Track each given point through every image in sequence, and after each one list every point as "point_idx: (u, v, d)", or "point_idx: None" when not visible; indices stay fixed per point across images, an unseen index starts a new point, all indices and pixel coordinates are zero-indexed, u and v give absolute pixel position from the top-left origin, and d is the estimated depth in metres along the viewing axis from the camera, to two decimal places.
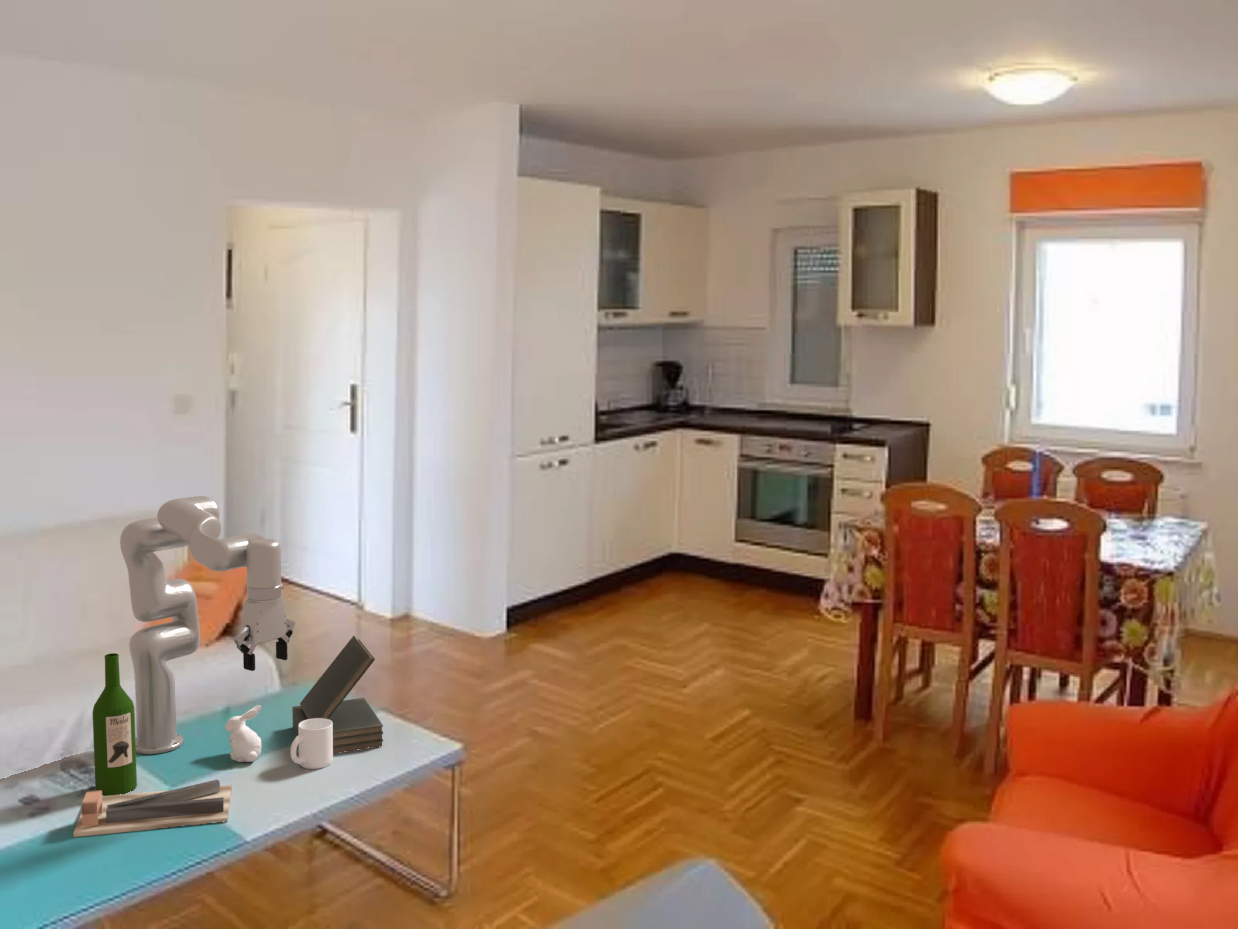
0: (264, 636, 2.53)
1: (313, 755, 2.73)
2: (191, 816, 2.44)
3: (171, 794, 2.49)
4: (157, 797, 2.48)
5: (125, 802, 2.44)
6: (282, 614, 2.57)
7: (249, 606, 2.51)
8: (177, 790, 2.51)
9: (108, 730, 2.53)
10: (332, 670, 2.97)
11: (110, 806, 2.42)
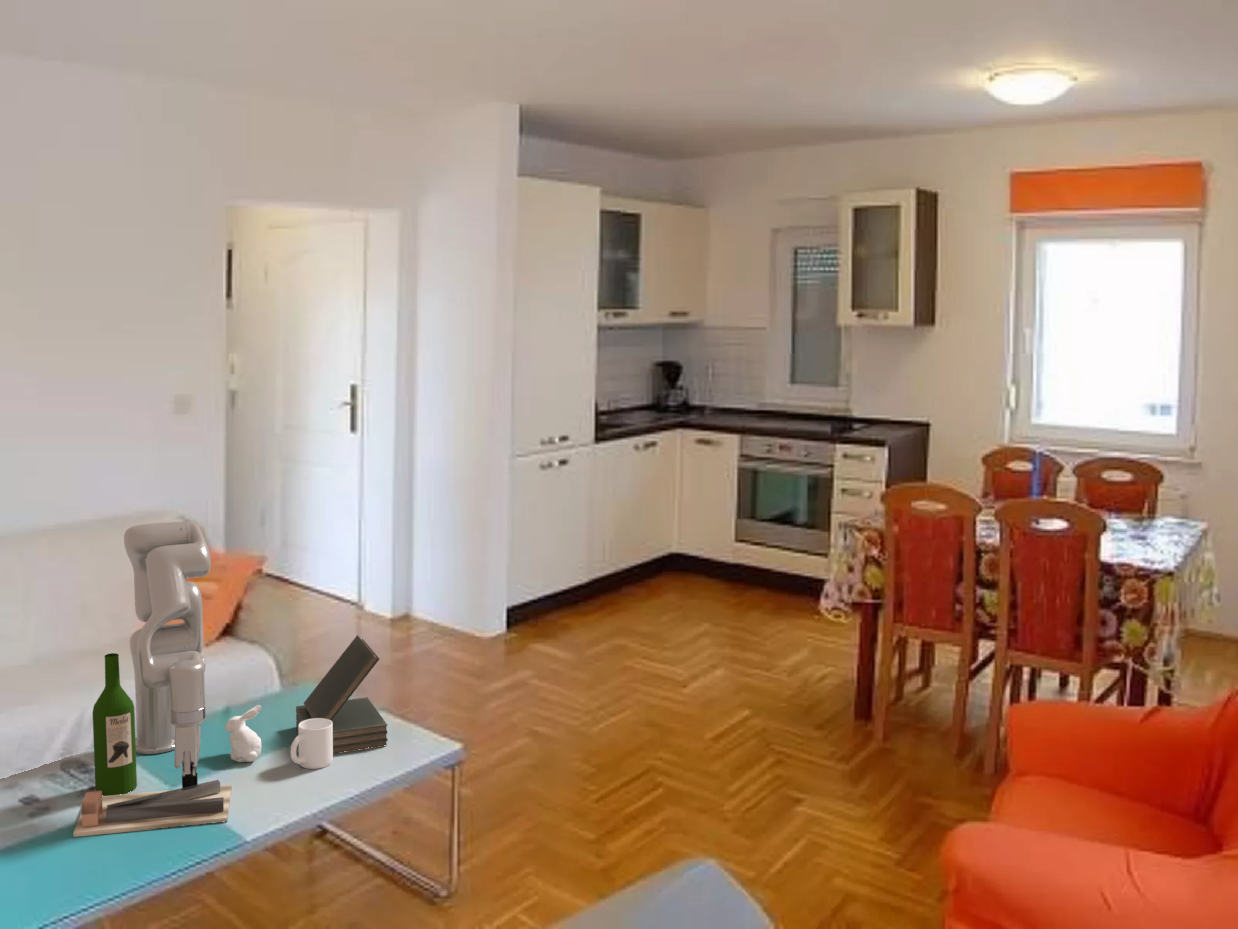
0: (198, 757, 2.53)
1: (313, 755, 2.73)
2: (191, 816, 2.44)
3: (171, 794, 2.49)
4: (157, 798, 2.47)
5: (125, 802, 2.44)
6: None
7: (187, 731, 2.49)
8: (177, 790, 2.51)
9: (108, 730, 2.53)
10: (335, 670, 2.98)
11: (110, 806, 2.42)
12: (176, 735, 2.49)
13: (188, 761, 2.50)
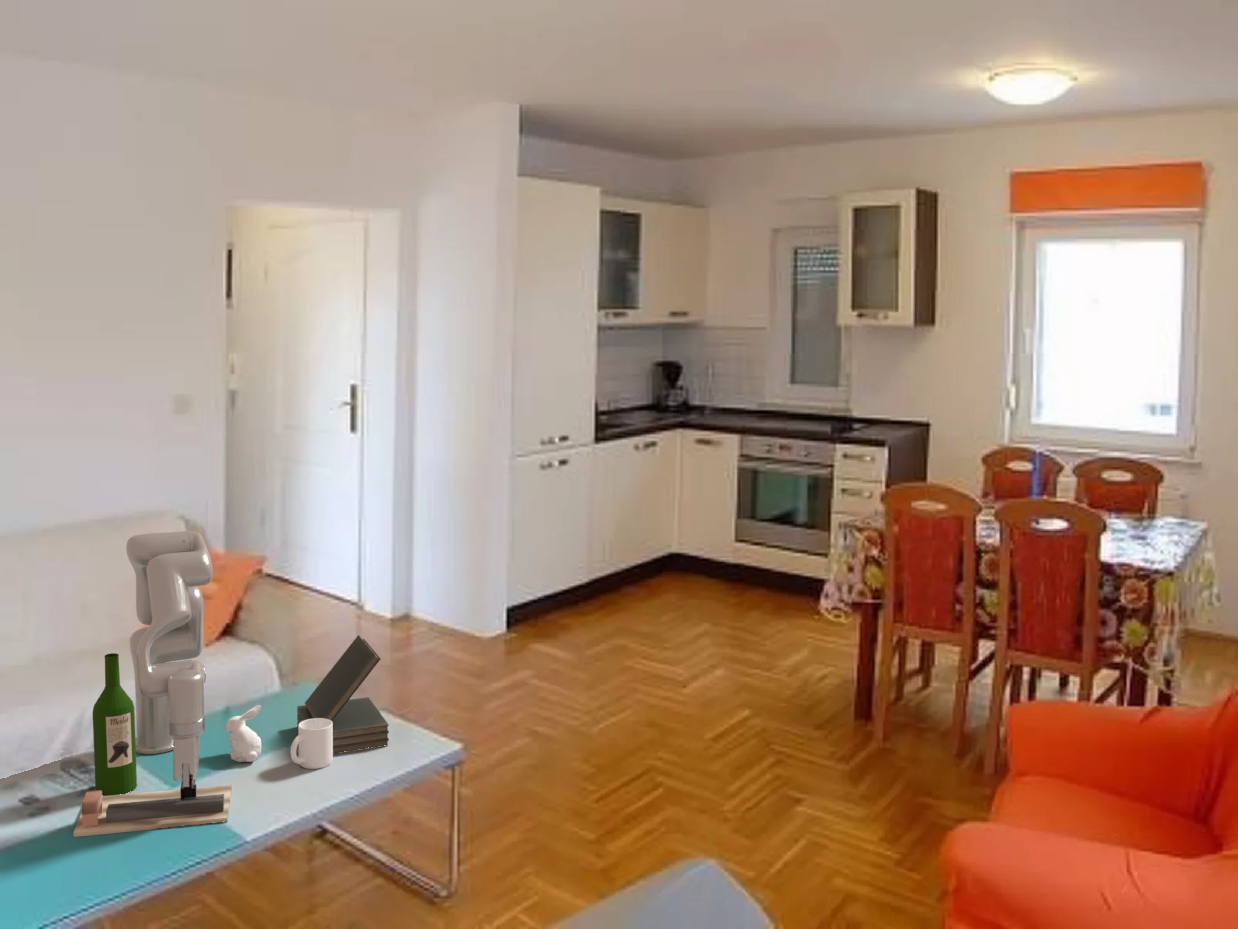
0: (197, 769, 2.47)
1: (313, 755, 2.73)
2: (191, 816, 2.44)
3: None
4: None
5: (126, 803, 2.43)
6: None
7: (186, 743, 2.43)
8: (179, 799, 2.46)
9: (108, 730, 2.53)
10: (337, 669, 2.98)
11: (109, 806, 2.42)
12: (175, 747, 2.43)
13: (187, 774, 2.44)
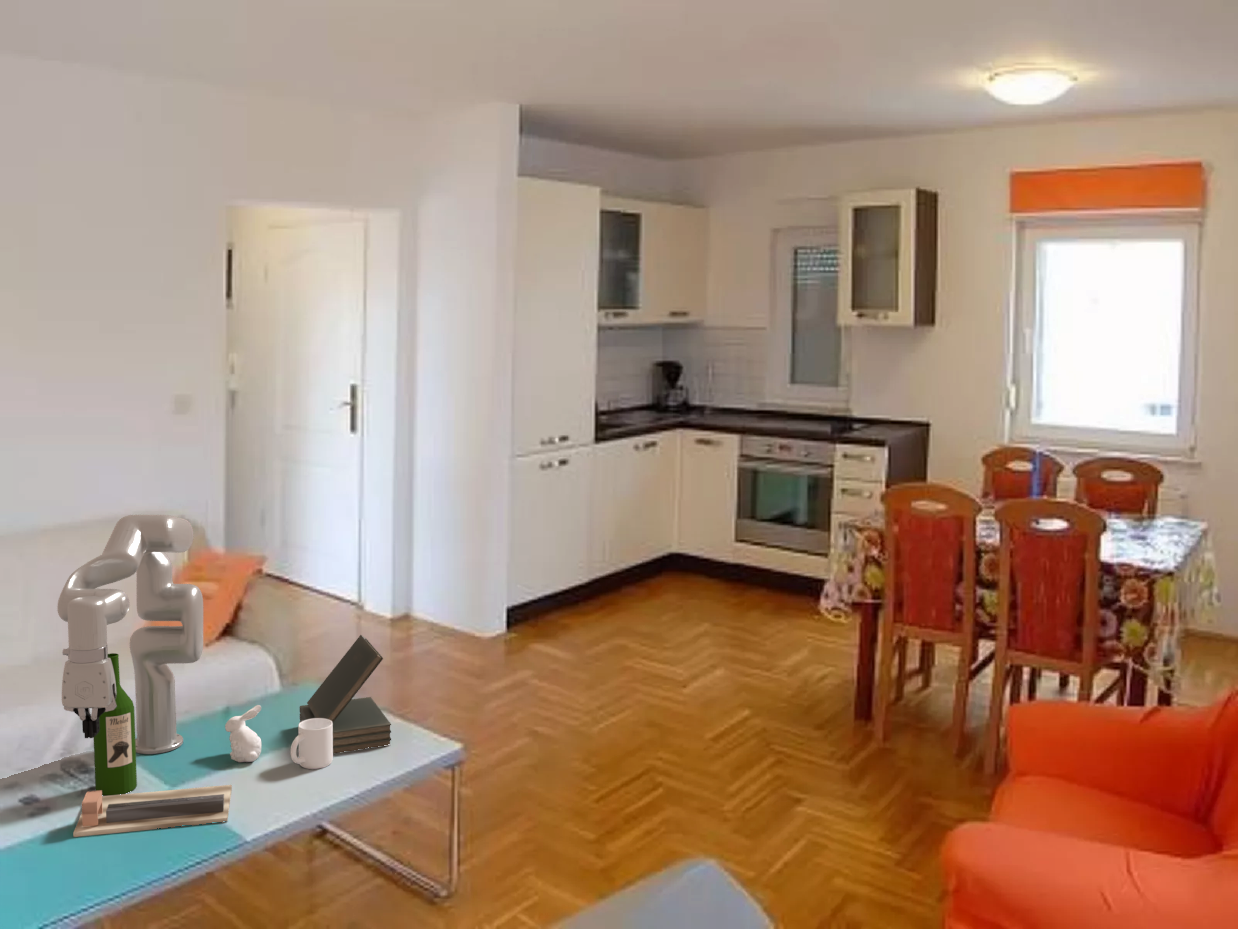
0: None
1: (313, 755, 2.73)
2: (191, 816, 2.44)
3: None
4: None
5: (125, 803, 2.43)
6: None
7: (110, 664, 2.39)
8: (179, 799, 2.46)
9: (108, 730, 2.53)
10: (339, 669, 2.98)
11: (109, 806, 2.42)
12: (105, 671, 2.37)
13: (112, 695, 2.40)
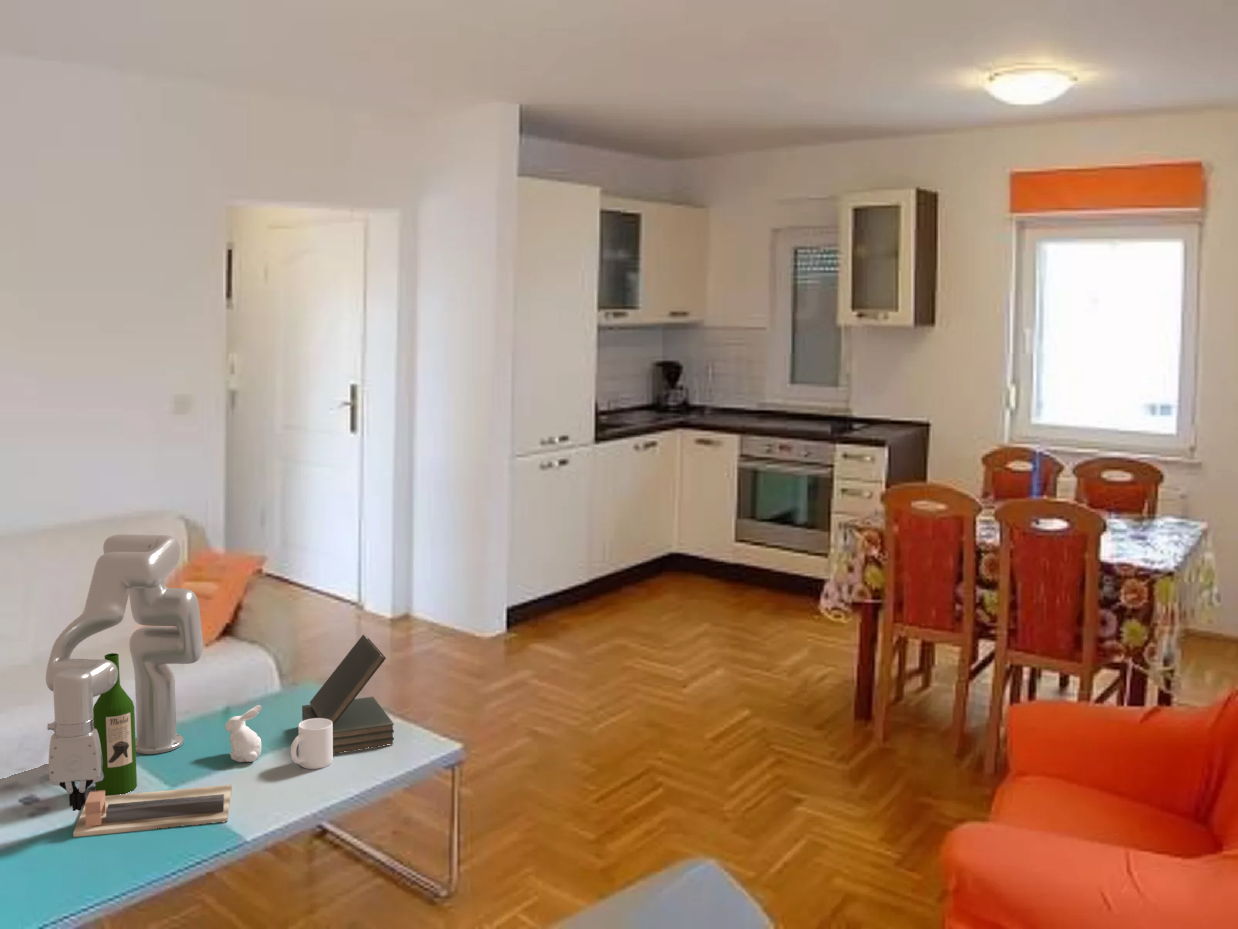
0: None
1: (313, 755, 2.73)
2: (191, 816, 2.44)
3: None
4: None
5: (125, 803, 2.43)
6: None
7: (98, 735, 2.39)
8: (179, 799, 2.46)
9: (108, 730, 2.53)
10: (342, 669, 2.99)
11: (109, 806, 2.42)
12: (95, 743, 2.37)
13: None
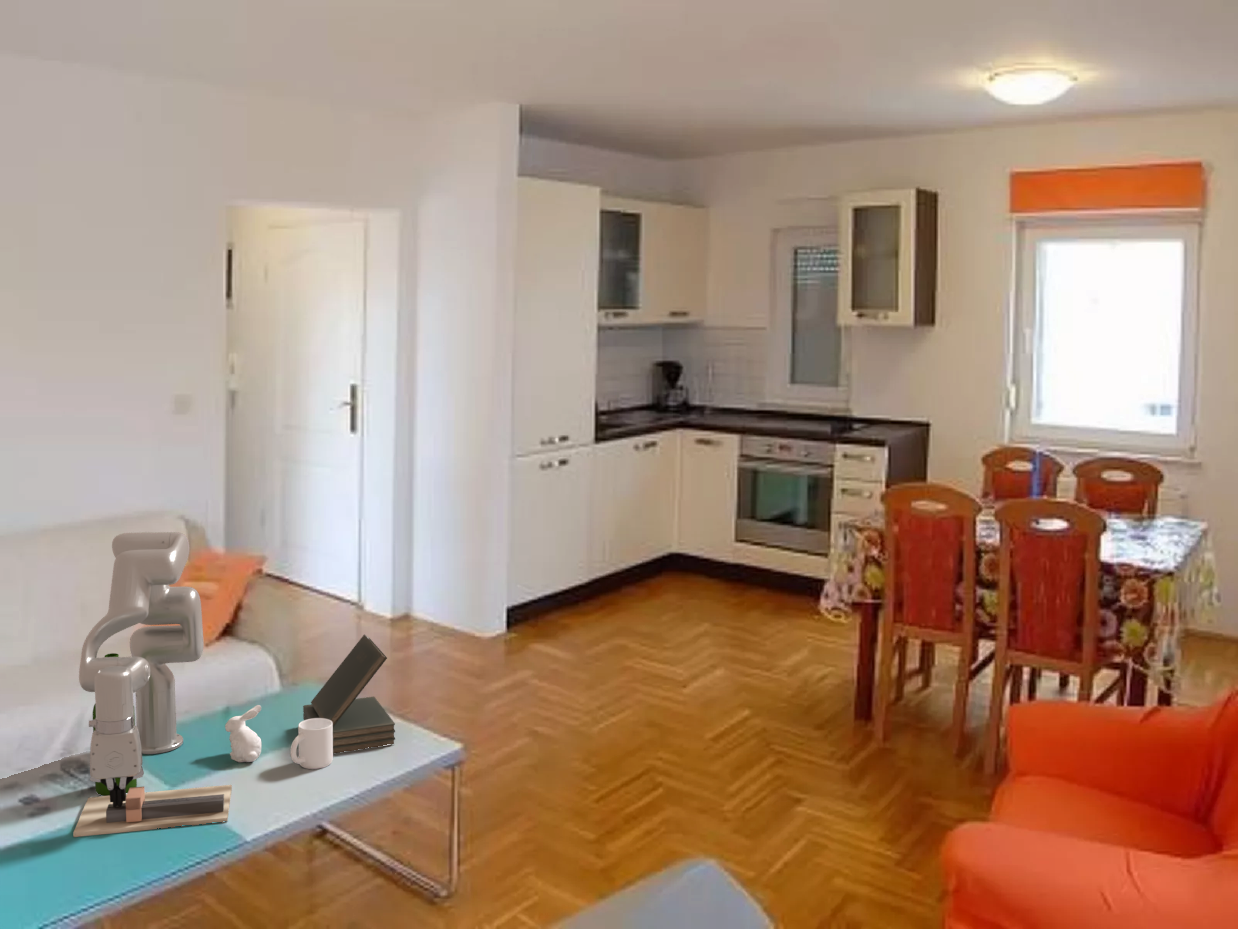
0: None
1: (313, 755, 2.73)
2: (191, 816, 2.44)
3: None
4: None
5: (125, 803, 2.43)
6: None
7: (138, 732, 2.41)
8: (179, 799, 2.46)
9: None
10: (343, 669, 2.99)
11: (109, 806, 2.42)
12: (136, 740, 2.39)
13: None
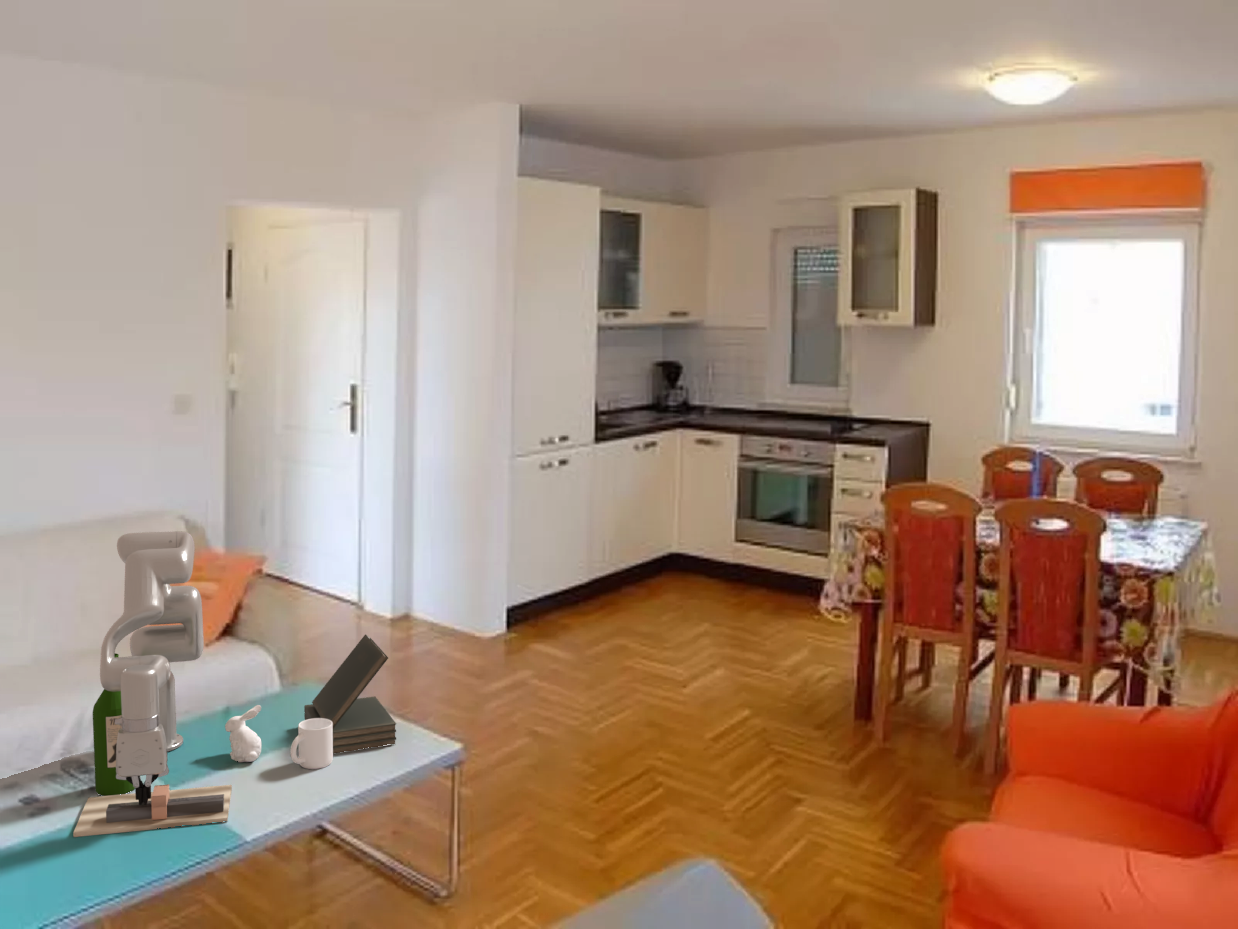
0: None
1: (313, 755, 2.73)
2: (191, 816, 2.44)
3: None
4: None
5: (125, 803, 2.43)
6: None
7: (163, 730, 2.43)
8: (179, 799, 2.46)
9: (108, 730, 2.53)
10: (344, 669, 2.99)
11: (109, 806, 2.42)
12: (161, 737, 2.40)
13: None
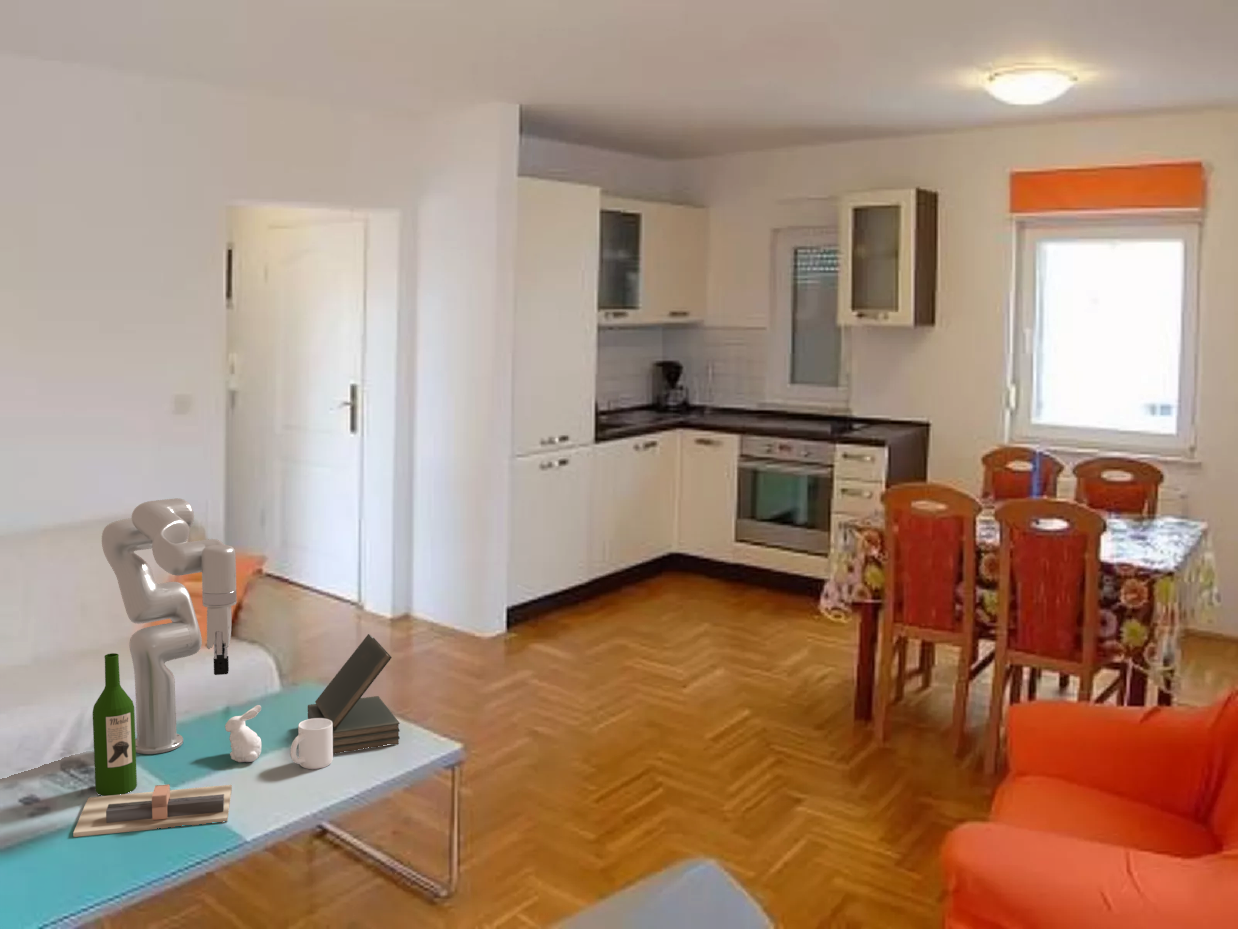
0: (229, 639, 2.58)
1: (313, 755, 2.73)
2: (191, 816, 2.44)
3: None
4: None
5: (125, 803, 2.43)
6: None
7: (219, 612, 2.54)
8: (179, 799, 2.46)
9: (108, 730, 2.53)
10: (347, 668, 2.99)
11: (109, 806, 2.42)
12: (208, 616, 2.54)
13: (220, 642, 2.55)
